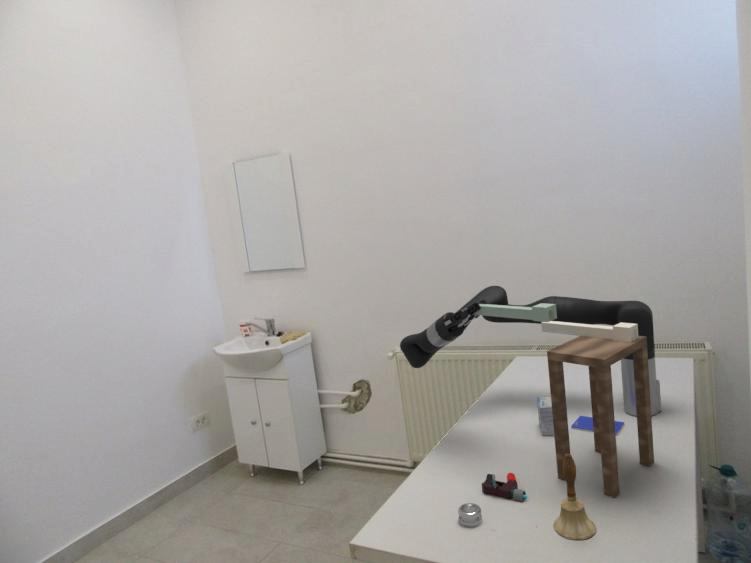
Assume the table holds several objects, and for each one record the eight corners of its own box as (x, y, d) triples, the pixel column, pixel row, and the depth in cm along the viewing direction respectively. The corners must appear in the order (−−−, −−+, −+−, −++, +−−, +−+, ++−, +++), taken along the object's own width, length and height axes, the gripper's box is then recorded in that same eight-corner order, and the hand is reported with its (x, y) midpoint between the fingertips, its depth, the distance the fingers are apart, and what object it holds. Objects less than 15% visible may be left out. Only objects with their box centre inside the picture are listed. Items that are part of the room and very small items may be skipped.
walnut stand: (558, 478, 128) (546, 351, 124) (599, 447, 141) (590, 330, 136) (614, 498, 117) (604, 359, 113) (654, 462, 130) (646, 336, 125)
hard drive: (571, 425, 153) (616, 432, 145) (580, 414, 160) (624, 421, 152) (571, 430, 154) (616, 438, 146) (580, 419, 160) (624, 426, 152)
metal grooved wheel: (484, 525, 114) (479, 512, 119) (483, 513, 113) (477, 500, 118) (461, 529, 114) (457, 515, 119) (460, 516, 113) (455, 503, 118)
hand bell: (545, 521, 112) (539, 451, 110) (580, 512, 114) (574, 442, 112) (568, 544, 104) (562, 469, 102) (605, 533, 106) (599, 459, 104)
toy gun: (526, 506, 119) (524, 486, 119) (477, 495, 126) (475, 476, 126) (540, 485, 127) (538, 466, 127) (493, 475, 134) (491, 457, 133)
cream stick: (540, 332, 141) (539, 319, 141) (548, 328, 144) (547, 316, 143) (630, 342, 123) (629, 327, 122) (638, 338, 125) (637, 323, 125)
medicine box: (558, 435, 150) (555, 406, 149) (541, 436, 151) (539, 407, 150) (554, 423, 158) (552, 396, 157) (539, 424, 159) (536, 397, 158)
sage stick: (469, 315, 143) (468, 302, 143) (479, 311, 146) (477, 299, 145) (547, 322, 125) (546, 307, 124) (557, 318, 127) (555, 304, 127)
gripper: (466, 335, 158) (505, 310, 145) (434, 347, 149) (471, 322, 137) (454, 313, 160) (491, 286, 147) (422, 324, 151) (458, 297, 139)
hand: (481, 304), depth 142 cm, fingers closed on sage stick, 2 cm apart
